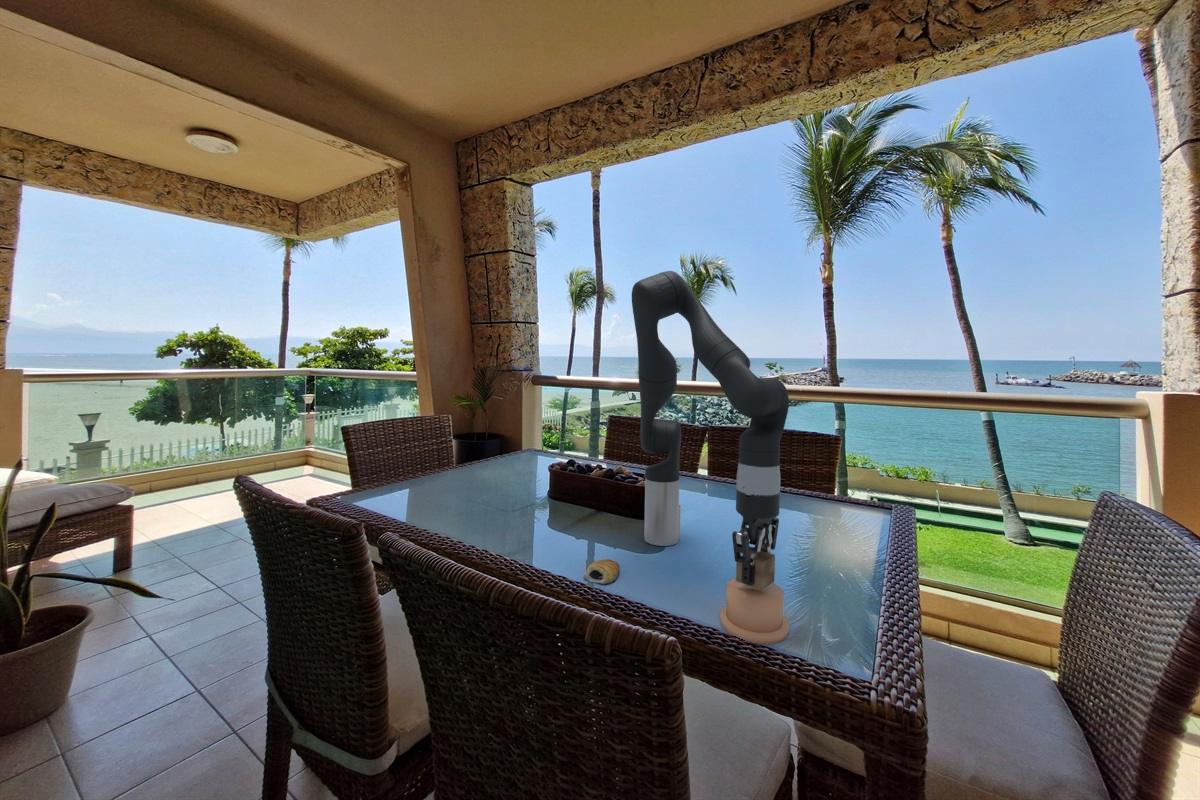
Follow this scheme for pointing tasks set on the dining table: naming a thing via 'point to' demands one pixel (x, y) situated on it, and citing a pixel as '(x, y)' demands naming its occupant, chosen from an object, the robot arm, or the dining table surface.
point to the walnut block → (760, 570)
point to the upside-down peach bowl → (755, 613)
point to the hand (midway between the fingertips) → (755, 578)
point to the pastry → (602, 571)
